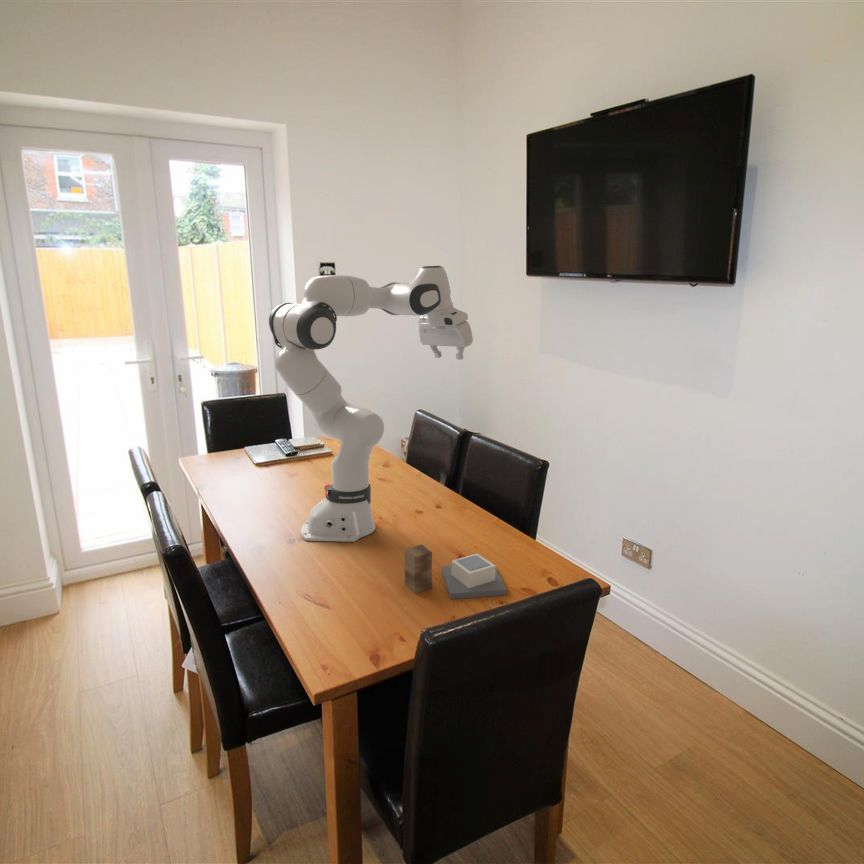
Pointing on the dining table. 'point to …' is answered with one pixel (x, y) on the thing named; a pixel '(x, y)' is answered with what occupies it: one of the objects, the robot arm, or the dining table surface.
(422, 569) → the walnut column
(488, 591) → the base board
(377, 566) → the dining table surface
